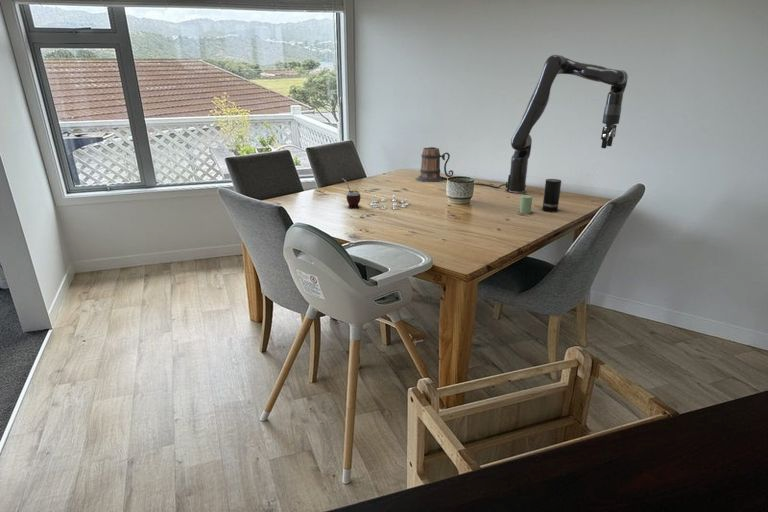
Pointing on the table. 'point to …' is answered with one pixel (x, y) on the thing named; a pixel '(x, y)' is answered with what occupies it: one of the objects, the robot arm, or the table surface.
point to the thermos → (551, 195)
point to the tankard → (432, 165)
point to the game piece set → (392, 200)
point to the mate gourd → (352, 197)
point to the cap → (525, 204)
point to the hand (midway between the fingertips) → (606, 147)
